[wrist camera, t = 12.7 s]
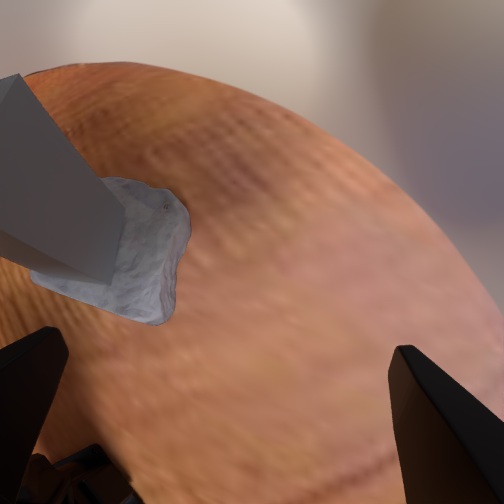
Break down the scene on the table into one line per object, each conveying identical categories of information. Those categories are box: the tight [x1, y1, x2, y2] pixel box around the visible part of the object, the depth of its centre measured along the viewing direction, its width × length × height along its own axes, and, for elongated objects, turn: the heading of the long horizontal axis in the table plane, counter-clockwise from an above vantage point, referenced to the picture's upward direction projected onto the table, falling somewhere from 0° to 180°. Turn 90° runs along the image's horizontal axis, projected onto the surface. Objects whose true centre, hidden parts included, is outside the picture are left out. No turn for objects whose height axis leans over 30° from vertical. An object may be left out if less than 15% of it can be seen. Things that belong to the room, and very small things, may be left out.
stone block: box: [30, 177, 191, 326], centre depth 22 cm, size 12×5×10 cm
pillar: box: [0, 74, 126, 286], centre depth 13 cm, size 5×5×12 cm
